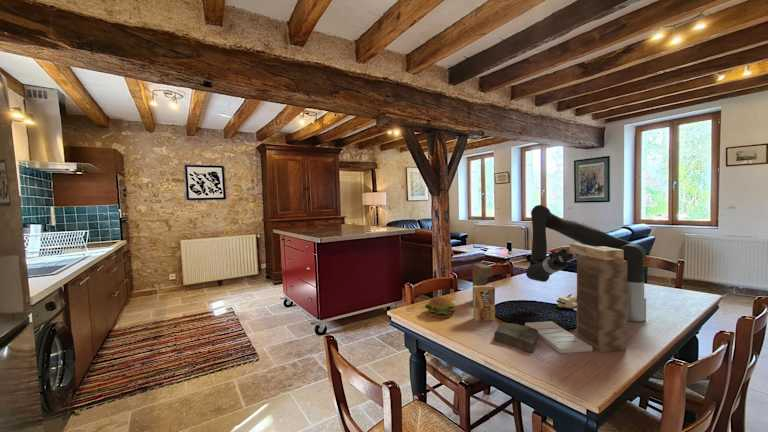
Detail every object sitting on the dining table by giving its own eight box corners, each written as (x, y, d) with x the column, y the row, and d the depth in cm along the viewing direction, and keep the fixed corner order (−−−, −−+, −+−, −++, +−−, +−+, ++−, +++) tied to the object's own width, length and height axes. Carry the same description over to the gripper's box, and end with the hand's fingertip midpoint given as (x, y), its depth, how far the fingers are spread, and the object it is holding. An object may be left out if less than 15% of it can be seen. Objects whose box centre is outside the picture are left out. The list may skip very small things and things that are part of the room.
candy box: (491, 317, 147) (491, 284, 146) (495, 320, 143) (495, 287, 142) (473, 318, 147) (472, 285, 146) (476, 321, 142) (475, 287, 142)
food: (440, 307, 163) (439, 291, 163) (460, 314, 151) (460, 298, 151) (419, 312, 155) (419, 296, 155) (439, 321, 144) (439, 304, 143)
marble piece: (533, 354, 112) (533, 343, 112) (490, 345, 120) (490, 334, 120) (540, 336, 126) (540, 326, 126) (501, 329, 134) (501, 319, 134)
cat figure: (589, 302, 168) (550, 303, 161) (590, 286, 167) (551, 286, 161) (607, 308, 158) (565, 310, 152) (608, 291, 158) (567, 292, 151)
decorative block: (493, 305, 162) (492, 267, 161) (483, 306, 161) (482, 268, 160) (482, 299, 173) (481, 263, 172) (472, 300, 172) (472, 263, 171)
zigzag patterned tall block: (600, 335, 125) (601, 255, 123) (626, 350, 113) (627, 261, 111) (576, 337, 124) (576, 256, 122) (599, 352, 112) (600, 262, 110)
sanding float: (581, 251, 132) (581, 242, 132) (623, 261, 111) (623, 250, 111) (565, 252, 131) (565, 242, 131) (604, 262, 110) (604, 250, 110)
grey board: (551, 324, 137) (551, 321, 137) (592, 351, 113) (592, 346, 113) (524, 326, 136) (524, 322, 136) (560, 353, 112) (560, 348, 112)
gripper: (537, 255, 146) (556, 242, 131) (567, 254, 147) (588, 240, 132) (542, 271, 142) (561, 259, 128) (572, 270, 143) (595, 257, 129)
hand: (575, 250), depth 130 cm, fingers open, 8 cm apart
